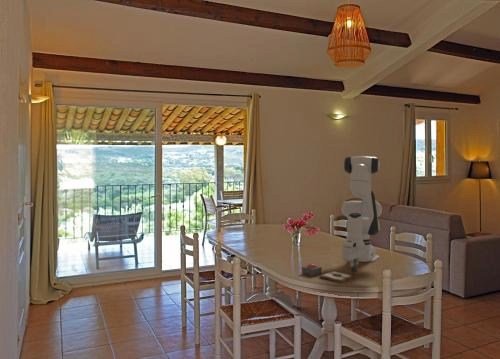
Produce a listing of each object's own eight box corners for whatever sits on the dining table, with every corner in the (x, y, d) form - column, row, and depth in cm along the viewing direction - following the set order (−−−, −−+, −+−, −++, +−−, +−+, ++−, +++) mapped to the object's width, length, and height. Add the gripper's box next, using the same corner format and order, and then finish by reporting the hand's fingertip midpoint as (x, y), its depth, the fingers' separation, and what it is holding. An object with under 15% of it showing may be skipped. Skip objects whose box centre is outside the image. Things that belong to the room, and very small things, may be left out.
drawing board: (332, 272, 250) (332, 270, 250) (354, 277, 241) (354, 275, 241) (319, 277, 240) (319, 275, 240) (341, 283, 231) (341, 280, 231)
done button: (310, 268, 251) (311, 263, 251) (316, 269, 249) (316, 264, 248) (306, 269, 248) (307, 264, 248) (312, 270, 246) (312, 265, 245)
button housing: (310, 271, 254) (310, 264, 254) (321, 273, 249) (321, 266, 249) (302, 273, 248) (302, 266, 248) (313, 276, 243) (313, 269, 243)
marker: (352, 270, 250) (353, 253, 249) (358, 271, 247) (358, 254, 246) (349, 271, 247) (350, 254, 246) (355, 272, 245) (355, 255, 244)
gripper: (358, 238, 256) (358, 260, 257) (340, 243, 241) (340, 267, 242) (368, 239, 251) (367, 262, 252) (350, 245, 236) (350, 270, 237)
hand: (354, 265), depth 247 cm, fingers closed on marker, 3 cm apart
